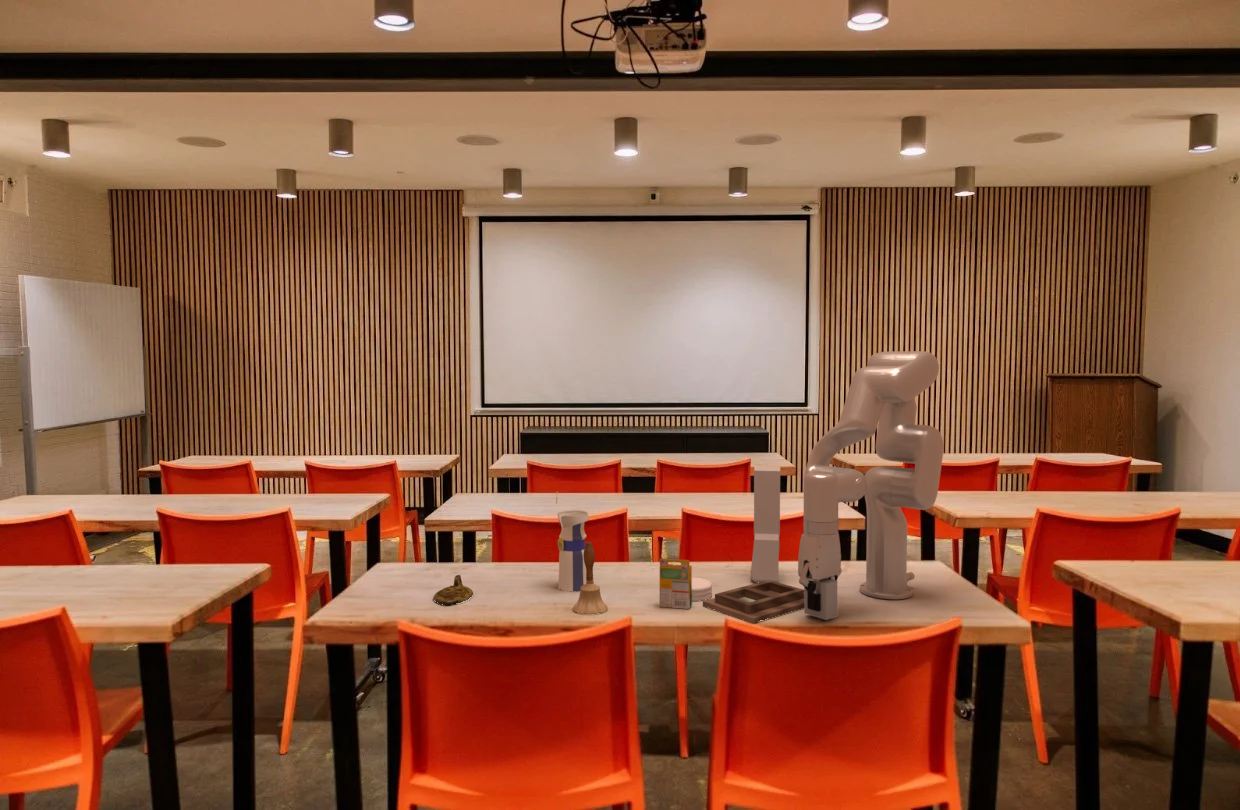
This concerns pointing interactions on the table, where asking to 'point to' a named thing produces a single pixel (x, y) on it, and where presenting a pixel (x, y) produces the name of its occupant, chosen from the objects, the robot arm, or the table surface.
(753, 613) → the tray
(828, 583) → the grey block
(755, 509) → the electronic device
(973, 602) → the table surface
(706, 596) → the white round stack
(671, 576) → the crayon box
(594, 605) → the hand bell
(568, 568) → the water bottle
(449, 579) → the table surface
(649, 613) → the table surface
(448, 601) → the seal
